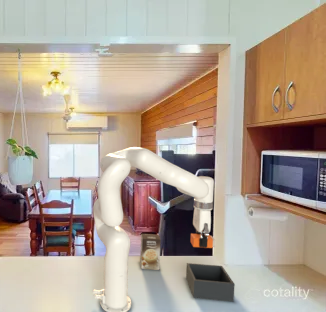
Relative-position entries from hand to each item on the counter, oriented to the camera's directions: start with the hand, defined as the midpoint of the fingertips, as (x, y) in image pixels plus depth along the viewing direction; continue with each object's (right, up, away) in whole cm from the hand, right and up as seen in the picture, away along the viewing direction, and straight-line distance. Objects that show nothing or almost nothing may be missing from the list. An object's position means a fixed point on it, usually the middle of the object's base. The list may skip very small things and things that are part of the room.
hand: (201, 243), depth 110 cm
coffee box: (-19, -18, +17) cm, 31 cm away
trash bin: (+2, -20, -2) cm, 20 cm away
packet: (0, -1, 0) cm, 1 cm away
